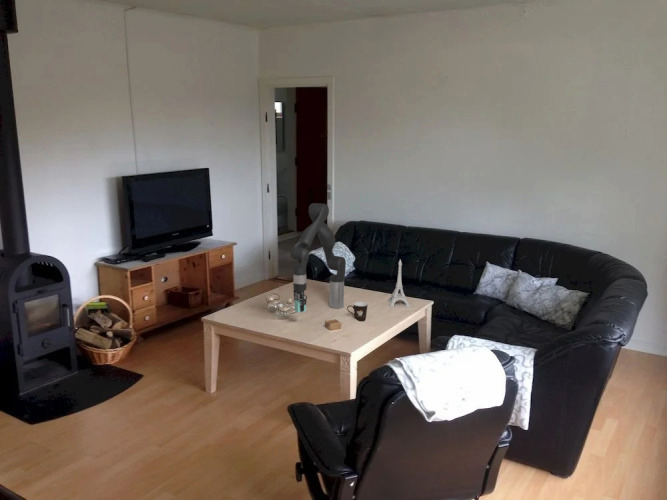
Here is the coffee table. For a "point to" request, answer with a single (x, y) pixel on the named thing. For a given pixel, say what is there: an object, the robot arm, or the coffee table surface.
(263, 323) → the coffee table surface
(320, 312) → the coffee table surface
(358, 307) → the coffee mug
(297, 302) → the teal block
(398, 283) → the eiffel tower
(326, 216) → the robot arm
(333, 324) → the walnut block
